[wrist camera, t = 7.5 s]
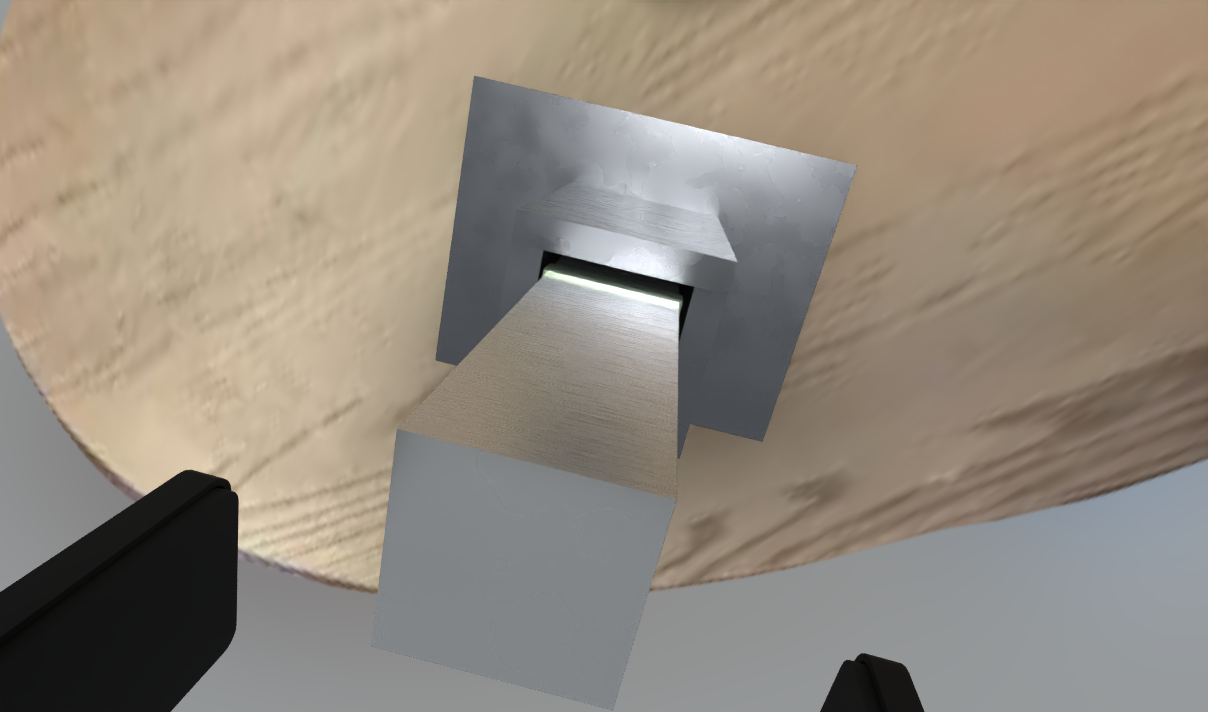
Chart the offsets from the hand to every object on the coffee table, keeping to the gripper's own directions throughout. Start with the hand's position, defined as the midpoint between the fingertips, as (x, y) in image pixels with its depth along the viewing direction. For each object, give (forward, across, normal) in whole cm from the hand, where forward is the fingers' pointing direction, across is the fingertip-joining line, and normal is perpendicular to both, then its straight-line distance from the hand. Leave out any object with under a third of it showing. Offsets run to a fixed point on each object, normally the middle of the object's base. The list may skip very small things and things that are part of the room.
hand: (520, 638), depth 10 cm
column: (+21, +1, 0) cm, 21 cm away
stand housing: (+29, +1, 0) cm, 29 cm away
